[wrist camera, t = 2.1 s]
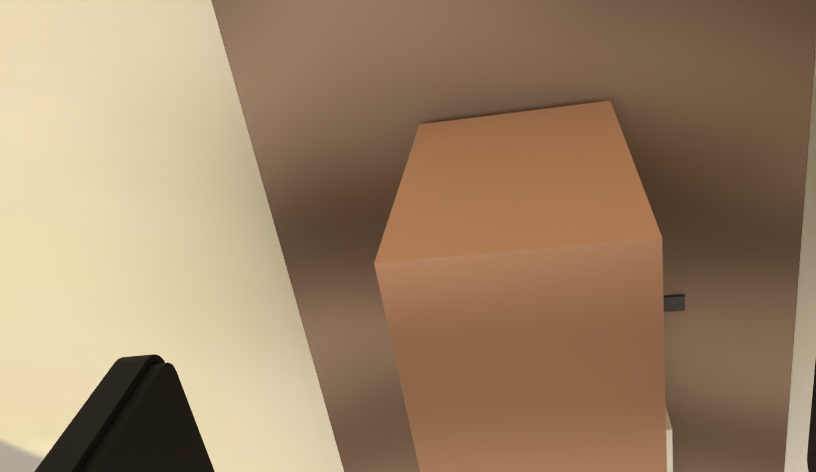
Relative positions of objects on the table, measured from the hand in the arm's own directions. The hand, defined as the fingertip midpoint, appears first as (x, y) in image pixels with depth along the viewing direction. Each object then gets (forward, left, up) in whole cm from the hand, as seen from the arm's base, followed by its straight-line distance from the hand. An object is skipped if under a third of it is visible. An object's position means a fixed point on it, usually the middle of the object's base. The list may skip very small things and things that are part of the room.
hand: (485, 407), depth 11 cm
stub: (-1, 0, -7) cm, 7 cm away
